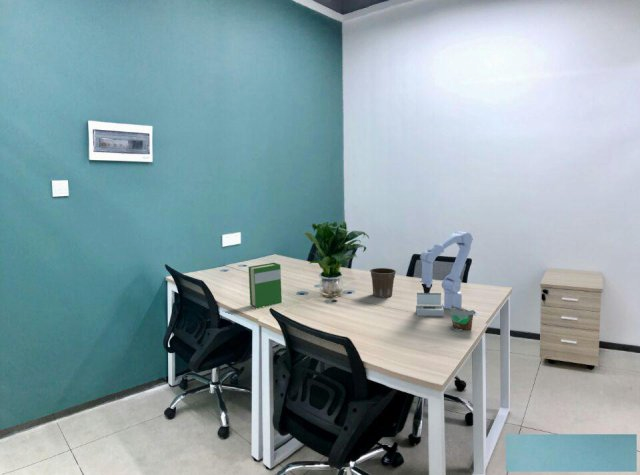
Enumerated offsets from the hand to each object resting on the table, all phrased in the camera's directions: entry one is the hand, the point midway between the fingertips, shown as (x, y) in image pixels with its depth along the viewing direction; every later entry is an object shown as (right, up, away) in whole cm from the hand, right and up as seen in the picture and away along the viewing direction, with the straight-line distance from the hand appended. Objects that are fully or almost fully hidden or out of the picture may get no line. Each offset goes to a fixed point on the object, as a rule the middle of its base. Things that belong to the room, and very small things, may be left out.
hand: (426, 296), depth 230 cm
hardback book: (-93, -8, +20) cm, 95 cm away
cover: (+1, -1, -1) cm, 2 cm away
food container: (+9, -12, -26) cm, 30 cm away
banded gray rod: (+1, -7, -3) cm, 8 cm away
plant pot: (-19, -4, +34) cm, 39 cm away
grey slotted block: (+1, -9, -3) cm, 9 cm away
